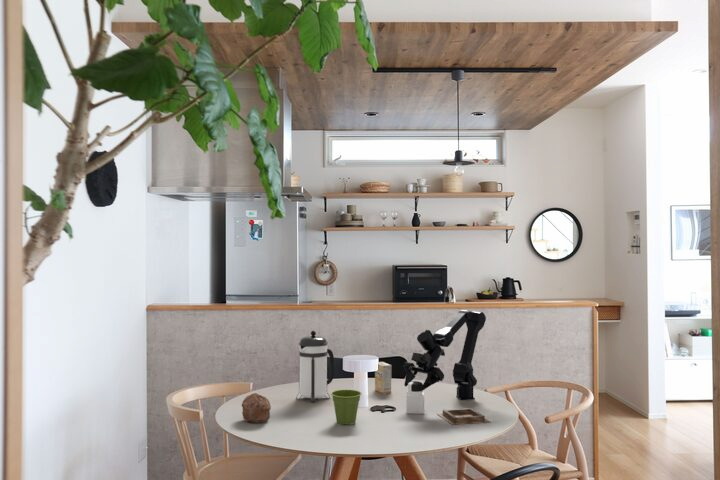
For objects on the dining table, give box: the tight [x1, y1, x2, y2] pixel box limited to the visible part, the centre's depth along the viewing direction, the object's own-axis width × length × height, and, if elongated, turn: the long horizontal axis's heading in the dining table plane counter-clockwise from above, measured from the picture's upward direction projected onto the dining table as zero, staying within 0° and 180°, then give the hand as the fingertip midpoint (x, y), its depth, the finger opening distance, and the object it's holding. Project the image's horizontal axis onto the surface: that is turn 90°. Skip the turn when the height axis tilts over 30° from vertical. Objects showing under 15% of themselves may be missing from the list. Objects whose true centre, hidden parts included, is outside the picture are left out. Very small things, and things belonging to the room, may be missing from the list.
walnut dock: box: [436, 407, 492, 426], centre depth 247 cm, size 16×16×3 cm
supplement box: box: [374, 361, 392, 395], centre depth 293 cm, size 8×5×13 cm, turn 25°
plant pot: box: [330, 389, 363, 425], centre depth 241 cm, size 12×12×11 cm
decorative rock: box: [241, 392, 272, 424], centre depth 244 cm, size 13×11×10 cm
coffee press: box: [295, 330, 335, 404], centre depth 280 cm, size 17×16×30 cm
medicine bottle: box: [405, 380, 425, 415], centre depth 257 cm, size 7×7×12 cm
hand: (413, 387), depth 257 cm, fingers open, 9 cm apart
